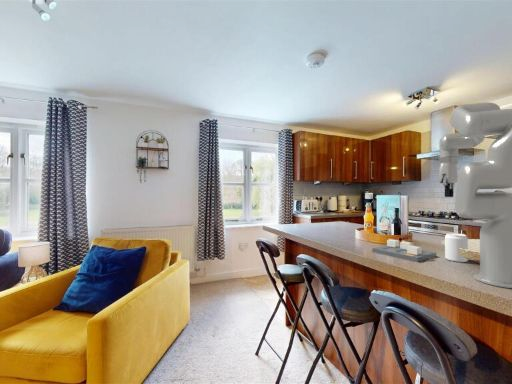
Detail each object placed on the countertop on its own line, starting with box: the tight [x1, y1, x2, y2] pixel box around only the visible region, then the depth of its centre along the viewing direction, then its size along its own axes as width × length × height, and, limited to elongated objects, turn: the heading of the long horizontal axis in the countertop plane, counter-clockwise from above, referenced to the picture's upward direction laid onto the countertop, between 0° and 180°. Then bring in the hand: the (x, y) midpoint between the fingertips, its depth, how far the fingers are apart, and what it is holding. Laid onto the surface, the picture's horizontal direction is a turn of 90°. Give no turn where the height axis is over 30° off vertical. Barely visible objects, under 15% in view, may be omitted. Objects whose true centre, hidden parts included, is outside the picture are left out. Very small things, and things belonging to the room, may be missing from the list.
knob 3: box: [407, 245, 422, 255], centre depth 115 cm, size 4×4×4 cm
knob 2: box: [399, 240, 414, 250], centre depth 125 cm, size 4×4×4 cm
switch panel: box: [371, 244, 437, 263], centre depth 123 cm, size 22×18×2 cm
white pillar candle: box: [444, 232, 469, 263], centre depth 111 cm, size 8×8×12 cm
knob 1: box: [386, 238, 400, 247], centre depth 131 cm, size 4×4×4 cm
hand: (449, 196), depth 124 cm, fingers closed
